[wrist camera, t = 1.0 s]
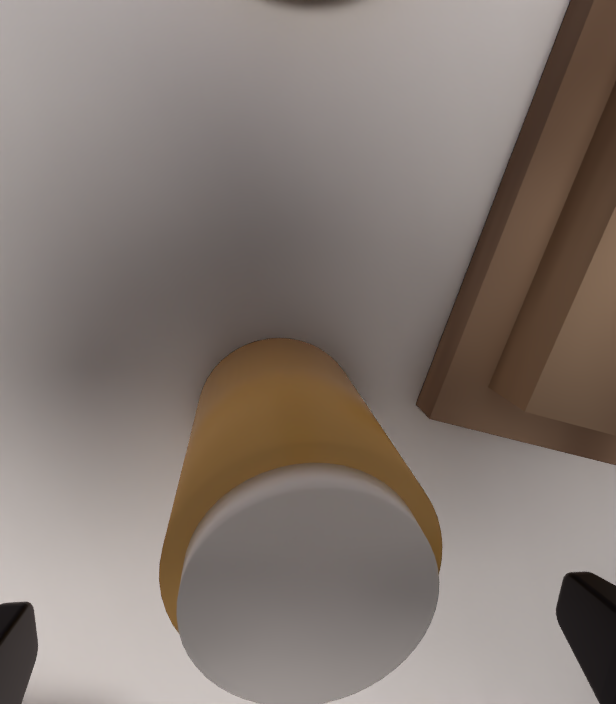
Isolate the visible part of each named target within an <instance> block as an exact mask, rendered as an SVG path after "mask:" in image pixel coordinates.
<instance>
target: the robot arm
mask: <svg viewBox="0 0 616 704" xmlns="http://www.w3.org/2000/svg"><path fill="white" fill-rule="evenodd" d="M556 616H557V620H558V623H559V625H560V627H561V629H562V631H563V633H564V635H565V637H566V639H567V641H568V643H569V645H570V647H571V649H572V651H573V653H574V655H575V657H576V659H577V661H578V662H579V664H580V666H581V668H582V670H583V672H584V674H585V676H586V678H587V680H588V682H589V684H590V686H591V688H592V690H593V692H594V694H595V696H596V697H597V699H598V701H599V703H600V704H616V586H615V585H613V584H611V583H610V582H608V581H606V580H604V579H602V578H600V577H599V576H597V575H595V574H593V573H590V572H570V573H567V574H566V575H565V576H564V578H563V581H562V586H561V590H560V594H559V598H558V602H557V606H556ZM37 651H38V639H37V631H36V623H35V615H34V609H33V606H32V604H31V603H29V602H12V603H3V604H1V605H0V704H21V703H22V700H23V697H24V694H25V691H26V688H27V685H28V682H29V679H30V676H31V673H32V670H33V667H34V664H35V661H36V657H37Z"/></svg>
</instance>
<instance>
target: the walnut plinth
mask: <svg viewBox="0 0 616 704" xmlns="http://www.w3.org/2000/svg"><path fill="white" fill-rule="evenodd" d="M416 405H417V406H418V407H419V408H420V409H421V410H422V411H423V413H424V414H425V415H426V416H427V417H428V418H429V419H432V420H436V421H440V422H444V423H448V424H452V425H456V426H460V427H464V428H468V429H472V430H477V431H481V432H485V433H489V434H493V435H497V436H501V437H505V438H509V439H513V440H517V441H521V442H525V443H529V444H533V445H537V446H541V447H545V448H549V449H553V450H557V451H561V452H565V453H569V454H573V455H577V456H581V457H585V458H589V459H593V460H597V461H601V462H605V463H609V464H613V465H616V0H571V1H570V4H569V6H568V9H567V12H566V14H565V17H564V20H563V22H562V25H561V27H560V30H559V33H558V35H557V38H556V40H555V43H554V46H553V48H552V51H551V53H550V56H549V59H548V61H547V64H546V66H545V69H544V72H543V74H542V77H541V80H540V82H539V85H538V87H537V90H536V93H535V95H534V98H533V100H532V103H531V106H530V108H529V111H528V113H527V116H526V119H525V121H524V124H523V127H522V129H521V132H520V134H519V137H518V140H517V142H516V145H515V147H514V150H513V153H512V155H511V158H510V160H509V163H508V166H507V168H506V171H505V173H504V176H503V179H502V181H501V184H500V187H499V189H498V192H497V194H496V197H495V200H494V202H493V205H492V207H491V210H490V213H489V215H488V218H487V220H486V223H485V226H484V228H483V231H482V234H481V236H480V239H479V241H478V244H477V247H476V249H475V252H474V254H473V257H472V260H471V262H470V265H469V267H468V270H467V273H466V275H465V278H464V281H463V283H462V286H461V288H460V291H459V294H458V296H457V299H456V301H455V304H454V307H453V309H452V312H451V314H450V317H449V320H448V322H447V325H446V327H445V330H444V333H443V335H442V338H441V341H440V343H439V346H438V348H437V351H436V354H435V356H434V359H433V361H432V364H431V367H430V369H429V372H428V374H427V377H426V380H425V382H424V385H423V388H422V390H421V393H420V395H419V398H418V401H417V403H416Z"/></svg>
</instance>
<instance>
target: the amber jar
mask: <svg viewBox="0 0 616 704" xmlns="http://www.w3.org/2000/svg"><path fill="white" fill-rule="evenodd" d="M441 560H442V537H441V529H440V525H439V521H438V517H437V515H436V512H435V510H434V508H433V505H432V503H431V501H430V500H429V498H428V497H427V495H426V493H425V492H424V490H423V489H422V487H421V486H420V484H419V483H418V481H417V480H416V478H415V477H414V475H413V474H412V472H411V471H410V469H409V468H408V466H407V465H406V463H405V462H404V460H403V459H402V457H401V456H400V454H399V453H398V451H397V450H396V448H395V447H394V445H393V444H392V442H391V441H390V439H389V438H388V436H387V435H386V434H385V432H384V431H383V429H382V428H381V426H380V425H379V423H378V422H377V420H376V419H375V417H374V416H373V414H372V413H371V411H370V410H369V408H368V407H367V405H366V404H365V402H364V401H363V399H362V398H361V396H360V395H359V393H358V392H357V390H356V389H355V387H354V386H353V384H352V383H351V381H350V380H349V378H348V377H347V375H346V374H345V372H344V371H343V369H342V368H341V367H340V366H339V365H338V363H337V362H336V361H335V360H334V359H333V358H332V357H331V356H329V355H328V354H327V353H325V352H324V351H322V350H321V349H319V348H317V347H315V346H313V345H311V344H309V343H306V342H303V341H299V340H294V339H287V338H271V339H264V340H259V341H256V342H253V343H249V344H247V345H245V346H243V347H240V348H238V349H237V350H235V351H234V352H232V353H230V354H229V355H228V356H227V357H225V358H224V359H223V360H222V361H221V362H220V363H219V364H218V365H217V366H216V367H215V368H214V370H213V371H212V372H211V374H210V375H209V377H208V378H207V380H206V382H205V384H204V386H203V389H202V392H201V395H200V399H199V403H198V407H197V411H196V415H195V419H194V423H193V427H192V431H191V435H190V439H189V443H188V447H187V451H186V455H185V459H184V463H183V467H182V471H181V475H180V480H179V484H178V488H177V492H176V496H175V500H174V504H173V508H172V512H171V516H170V520H169V524H168V528H167V532H166V536H165V540H164V544H163V549H162V554H161V559H160V569H159V582H160V590H161V596H162V600H163V603H164V606H165V609H166V612H167V614H168V616H169V618H170V620H171V622H172V624H173V626H174V627H175V629H176V630H177V631H178V633H179V634H180V637H181V641H182V644H183V646H184V648H185V650H186V652H187V654H188V656H189V657H190V659H191V660H192V662H193V663H194V664H195V666H196V667H197V668H198V669H199V670H200V671H201V672H202V673H203V674H204V675H205V676H206V677H207V678H208V679H209V680H210V681H212V682H213V683H214V684H216V685H217V686H218V687H220V688H222V689H224V690H225V691H227V692H229V693H231V694H233V695H235V696H238V697H240V698H243V699H245V700H249V701H253V702H256V703H260V704H322V703H326V702H330V701H334V700H338V699H341V698H344V697H347V696H349V695H352V694H355V693H357V692H359V691H361V690H363V689H365V688H367V687H369V686H371V685H373V684H374V683H376V682H378V681H379V680H381V679H382V678H384V677H385V676H386V675H388V674H389V673H390V672H392V671H393V670H394V669H396V668H397V667H398V666H399V665H400V664H401V663H402V662H403V661H404V660H405V659H406V658H407V657H408V656H409V655H410V654H411V653H412V651H413V650H414V649H415V648H416V647H417V645H418V644H419V642H420V641H421V639H422V638H423V636H424V635H425V633H426V631H427V629H428V627H429V625H430V623H431V620H432V618H433V615H434V612H435V609H436V605H437V600H438V594H439V571H440V566H441Z"/></svg>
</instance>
